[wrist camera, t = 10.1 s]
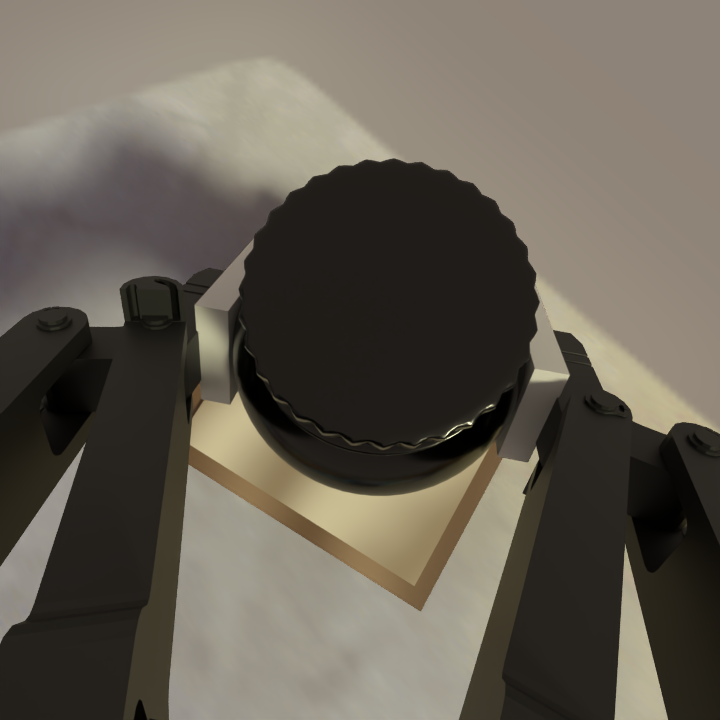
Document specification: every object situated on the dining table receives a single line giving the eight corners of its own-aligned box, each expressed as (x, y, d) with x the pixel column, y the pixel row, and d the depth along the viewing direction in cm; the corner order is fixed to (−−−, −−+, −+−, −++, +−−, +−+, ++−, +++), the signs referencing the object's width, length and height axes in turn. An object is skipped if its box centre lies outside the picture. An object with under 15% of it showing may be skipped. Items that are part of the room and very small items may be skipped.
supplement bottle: (491, 382, 19) (696, 278, 8) (377, 514, 19) (411, 629, 7) (364, 273, 20) (371, 28, 8) (249, 394, 19) (77, 309, 8)
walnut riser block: (198, 444, 28) (154, 444, 22) (324, 250, 30) (316, 200, 24) (406, 575, 27) (421, 613, 21) (522, 363, 29) (566, 341, 23)
